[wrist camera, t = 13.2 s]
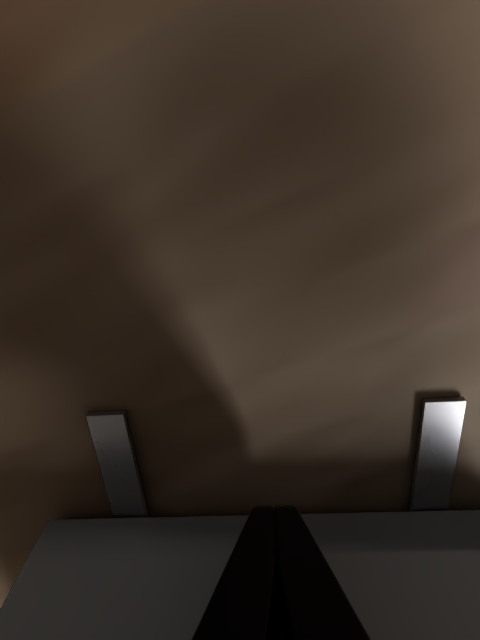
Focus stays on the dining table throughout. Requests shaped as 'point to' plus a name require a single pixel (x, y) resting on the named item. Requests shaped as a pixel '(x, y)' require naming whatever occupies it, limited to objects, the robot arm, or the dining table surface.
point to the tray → (211, 558)
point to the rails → (428, 480)
